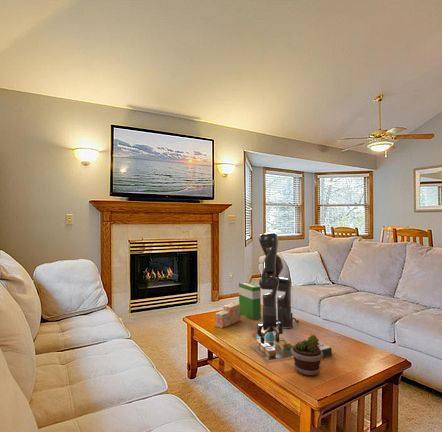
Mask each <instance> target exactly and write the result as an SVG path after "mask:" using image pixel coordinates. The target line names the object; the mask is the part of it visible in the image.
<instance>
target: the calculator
mask: <svg viewBox="0 0 442 432" xmlns="http://www.w3.org/2000/svg"><path fill="white" fill-rule="evenodd" d="M301 341H302V342H303V341H304V340H301ZM301 341H298V342H297V343H299V342H300V343H302V342H301ZM318 347H320V350H321V351H322V352H323V354H324V355H323V358H325V357H329V356H332V354H333V350H332V347H331V346H329V345H326V344H324V343H321V342H319V344H318Z"/></svg>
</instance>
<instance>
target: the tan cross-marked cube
mask: <svg viewBox="0 0 442 432" xmlns="http://www.w3.org/2000/svg"><path fill="white" fill-rule="evenodd" d="M265 353H266V354H267V355H268V356H275V355H276V349H274V348H273V347H265Z"/></svg>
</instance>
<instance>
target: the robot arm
mask: <svg viewBox="0 0 442 432" xmlns="http://www.w3.org/2000/svg"><path fill="white" fill-rule="evenodd" d="M258 241H259V245H260V248H261V249H262V251H263V254H264V256H265V257H264V258H263V261H262V273H261V275H260V278H259V280H258V286H260V290H267V291H270V290H271V291H270V292H267V293H263V294H262V307H261V314H262V324H259V323H257V324H256V325H257V326H256V335H258V336H260V340H261V343H262V344H264V340H265V339H264V336H265V335H267V332H273V333H275V334H274V339H275V340H274V342H275V341H276V342H279V337H280V335H283V333H284V332H283V331H284V329H286V330H287V329H291V328H293V327H294V323H293V321H294V322H295V323H299V322H300V320H299V319H296V317H294V316H293V312H292V281H291V278H286V277H285V278H284V277H280V275H281V273H282V272H283V269H284V264H283V260H282V258H281V257H280V255H278V249H279V237H278V234H277V233H276V232H265V233H261V234H259V236H258ZM278 292H282V293H284V294H282V295H279V296H277V293H278Z"/></svg>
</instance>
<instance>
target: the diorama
mask: <svg viewBox="0 0 442 432" xmlns="http://www.w3.org/2000/svg"><path fill="white" fill-rule="evenodd" d="M273 333H274V331H273V332H267V334H265V336H264V340H265V341H268V342H275V334H273ZM255 338H256V340H258V339H260V336H258V335H257V334H256V335H255Z"/></svg>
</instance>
